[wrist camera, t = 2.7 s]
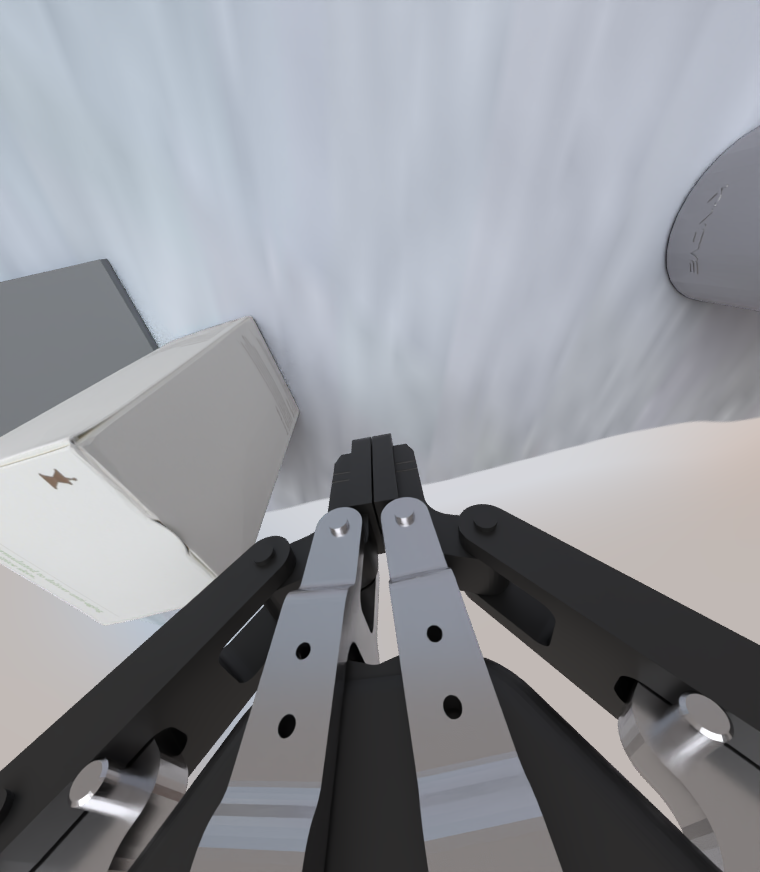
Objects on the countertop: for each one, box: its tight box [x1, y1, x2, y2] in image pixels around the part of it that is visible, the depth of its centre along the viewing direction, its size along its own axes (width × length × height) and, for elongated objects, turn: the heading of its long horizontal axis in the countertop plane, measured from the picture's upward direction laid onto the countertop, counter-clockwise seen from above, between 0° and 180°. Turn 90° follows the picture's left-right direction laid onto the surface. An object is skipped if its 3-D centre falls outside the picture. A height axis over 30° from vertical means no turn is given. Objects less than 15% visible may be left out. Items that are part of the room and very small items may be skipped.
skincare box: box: [0, 316, 300, 626], centre depth 17 cm, size 8×7×16 cm
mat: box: [0, 259, 158, 437], centre depth 24 cm, size 16×18×1 cm
